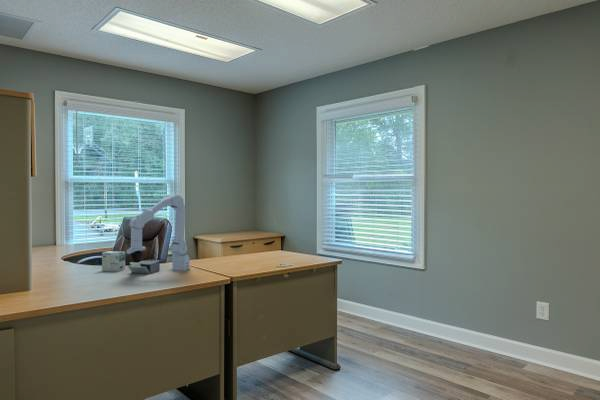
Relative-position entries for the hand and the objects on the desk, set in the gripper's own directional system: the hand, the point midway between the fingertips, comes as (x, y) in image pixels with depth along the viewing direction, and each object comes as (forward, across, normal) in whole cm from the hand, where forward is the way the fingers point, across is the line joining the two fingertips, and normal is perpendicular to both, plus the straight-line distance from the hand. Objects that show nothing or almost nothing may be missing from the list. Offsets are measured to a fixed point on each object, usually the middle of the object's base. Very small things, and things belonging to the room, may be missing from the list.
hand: (136, 265), depth 229 cm
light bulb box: (+6, -8, -20) cm, 22 cm away
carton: (+6, -10, 0) cm, 11 cm away
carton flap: (+5, -4, 0) cm, 7 cm away
